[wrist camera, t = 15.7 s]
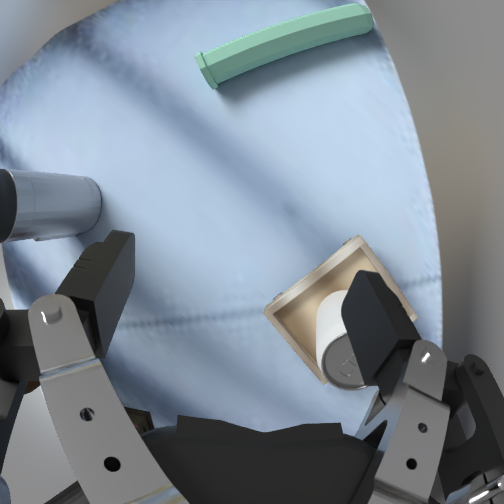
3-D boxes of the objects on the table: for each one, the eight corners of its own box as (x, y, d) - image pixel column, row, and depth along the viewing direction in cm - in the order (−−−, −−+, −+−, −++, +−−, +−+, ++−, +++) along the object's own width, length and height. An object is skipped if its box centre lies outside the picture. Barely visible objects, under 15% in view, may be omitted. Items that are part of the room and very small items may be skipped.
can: (380, 309, 34) (408, 352, 22) (346, 350, 35) (357, 406, 23) (338, 277, 34) (350, 309, 23) (305, 321, 36) (299, 369, 24)
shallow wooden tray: (323, 364, 40) (323, 385, 35) (269, 299, 41) (262, 312, 35) (405, 304, 37) (418, 317, 32) (354, 232, 38) (361, 236, 32)
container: (367, -7, 27) (190, 50, 32) (385, 29, 30) (209, 88, 35) (355, 4, 32) (199, 56, 38) (371, 36, 35) (215, 90, 40)
